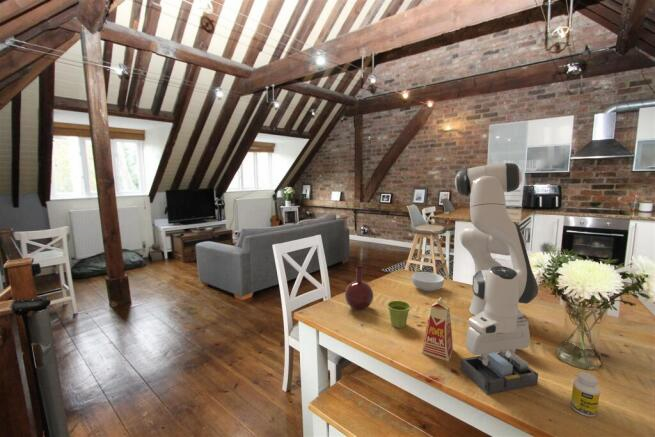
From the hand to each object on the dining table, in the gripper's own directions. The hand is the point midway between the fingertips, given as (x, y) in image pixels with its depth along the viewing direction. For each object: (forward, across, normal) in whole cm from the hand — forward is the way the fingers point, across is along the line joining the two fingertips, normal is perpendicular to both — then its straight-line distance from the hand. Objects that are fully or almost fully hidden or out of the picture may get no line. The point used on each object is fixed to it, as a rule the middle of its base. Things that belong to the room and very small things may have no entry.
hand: (496, 362), depth 95 cm
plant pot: (+5, +15, -38) cm, 41 cm away
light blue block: (+4, 0, 0) cm, 4 cm away
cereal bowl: (+5, -18, -71) cm, 73 cm away
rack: (+5, 0, 0) cm, 5 cm away
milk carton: (+5, +10, -17) cm, 20 cm away
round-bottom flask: (+5, +26, -57) cm, 63 cm away
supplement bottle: (+5, -13, +17) cm, 22 cm away
